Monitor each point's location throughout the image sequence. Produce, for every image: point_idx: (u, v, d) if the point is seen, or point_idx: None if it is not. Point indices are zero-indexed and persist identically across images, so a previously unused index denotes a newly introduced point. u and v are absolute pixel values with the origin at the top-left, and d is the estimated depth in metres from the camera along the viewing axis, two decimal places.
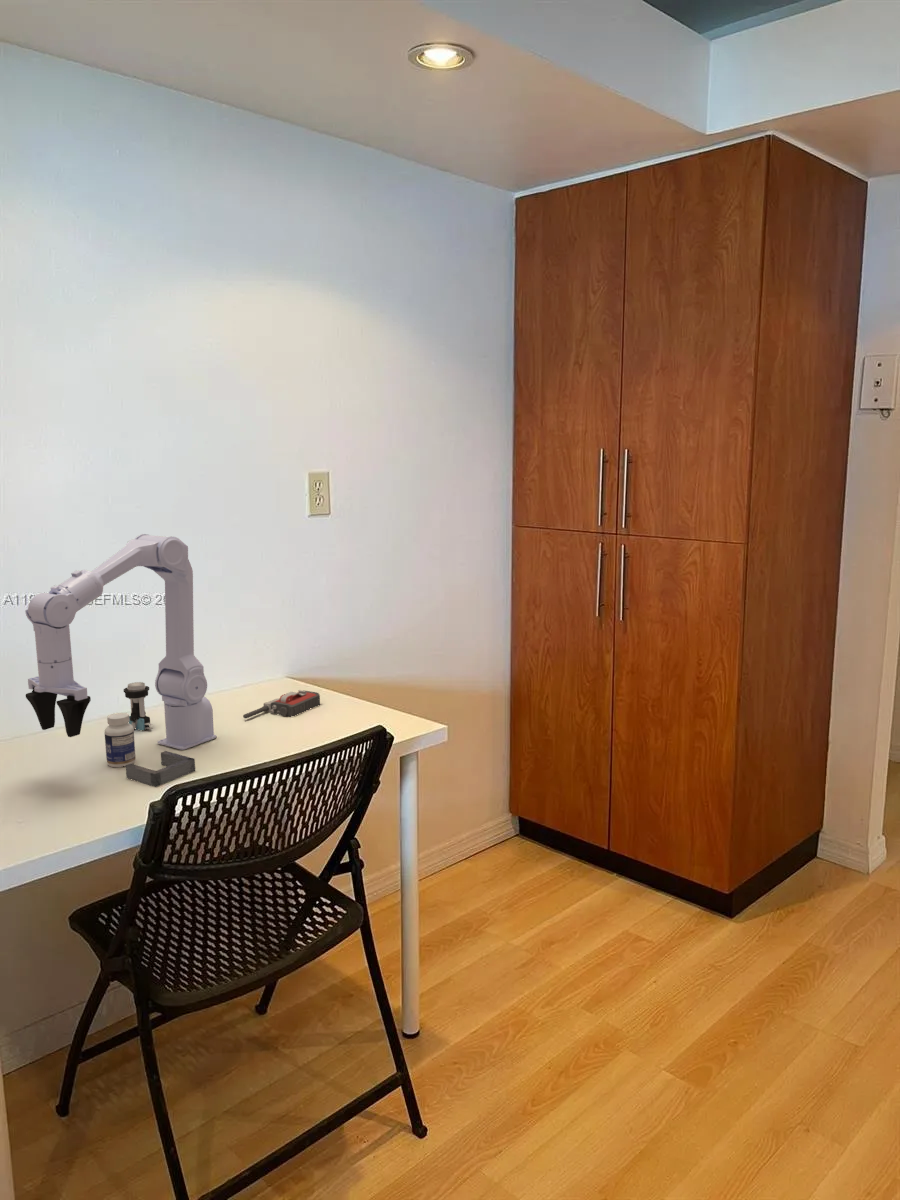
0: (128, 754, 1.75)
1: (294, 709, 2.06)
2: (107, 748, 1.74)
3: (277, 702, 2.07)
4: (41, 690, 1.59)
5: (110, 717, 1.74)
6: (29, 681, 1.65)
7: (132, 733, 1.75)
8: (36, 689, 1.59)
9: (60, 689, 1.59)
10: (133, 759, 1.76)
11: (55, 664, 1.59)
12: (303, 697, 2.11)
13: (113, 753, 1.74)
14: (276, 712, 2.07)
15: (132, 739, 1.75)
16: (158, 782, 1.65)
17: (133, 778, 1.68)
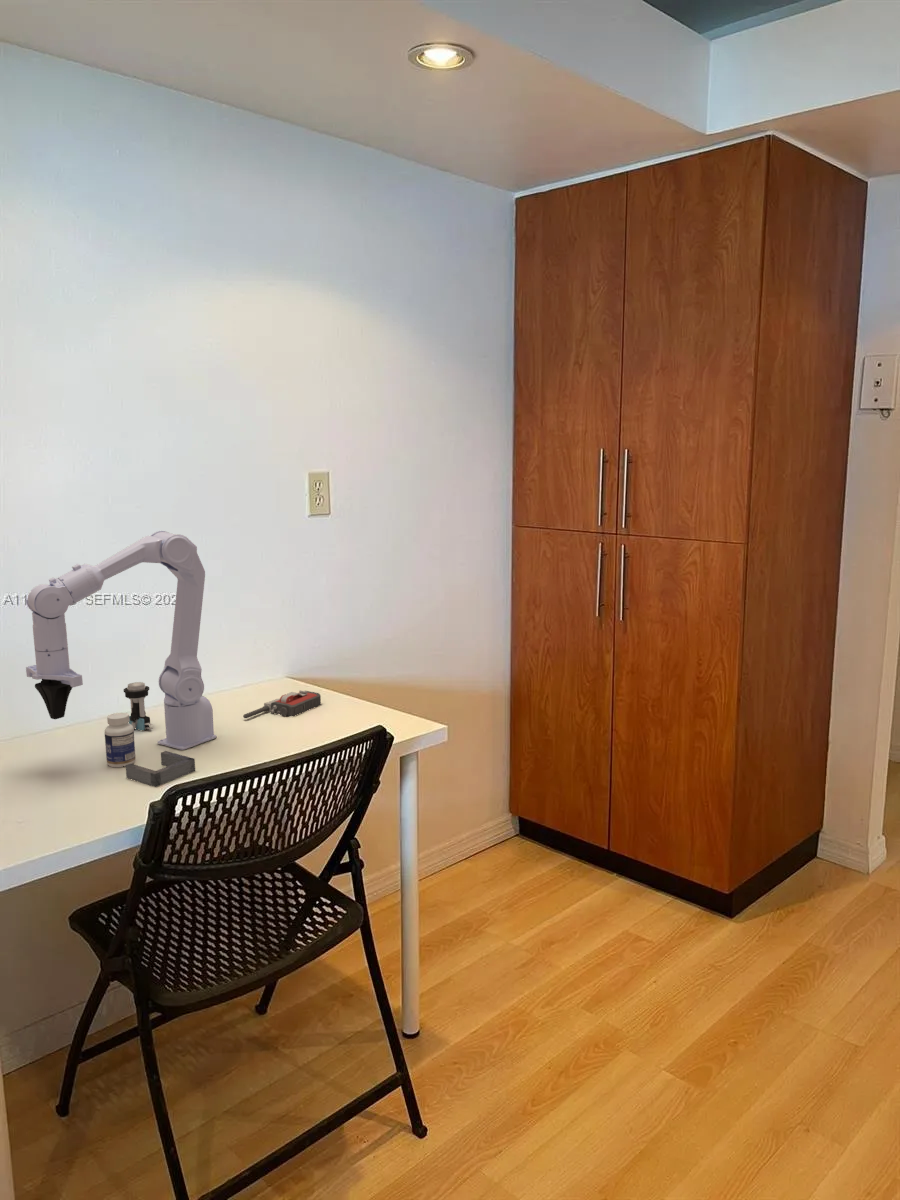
0: (128, 754, 1.75)
1: (294, 709, 2.06)
2: (107, 748, 1.74)
3: (277, 702, 2.07)
4: (38, 677, 1.67)
5: (110, 717, 1.74)
6: (27, 669, 1.73)
7: (132, 733, 1.75)
8: (33, 676, 1.67)
9: (56, 676, 1.67)
10: (133, 759, 1.76)
11: (52, 652, 1.67)
12: (304, 697, 2.11)
13: (113, 753, 1.74)
14: (276, 712, 2.08)
15: (132, 739, 1.75)
16: (158, 782, 1.65)
17: (133, 778, 1.68)
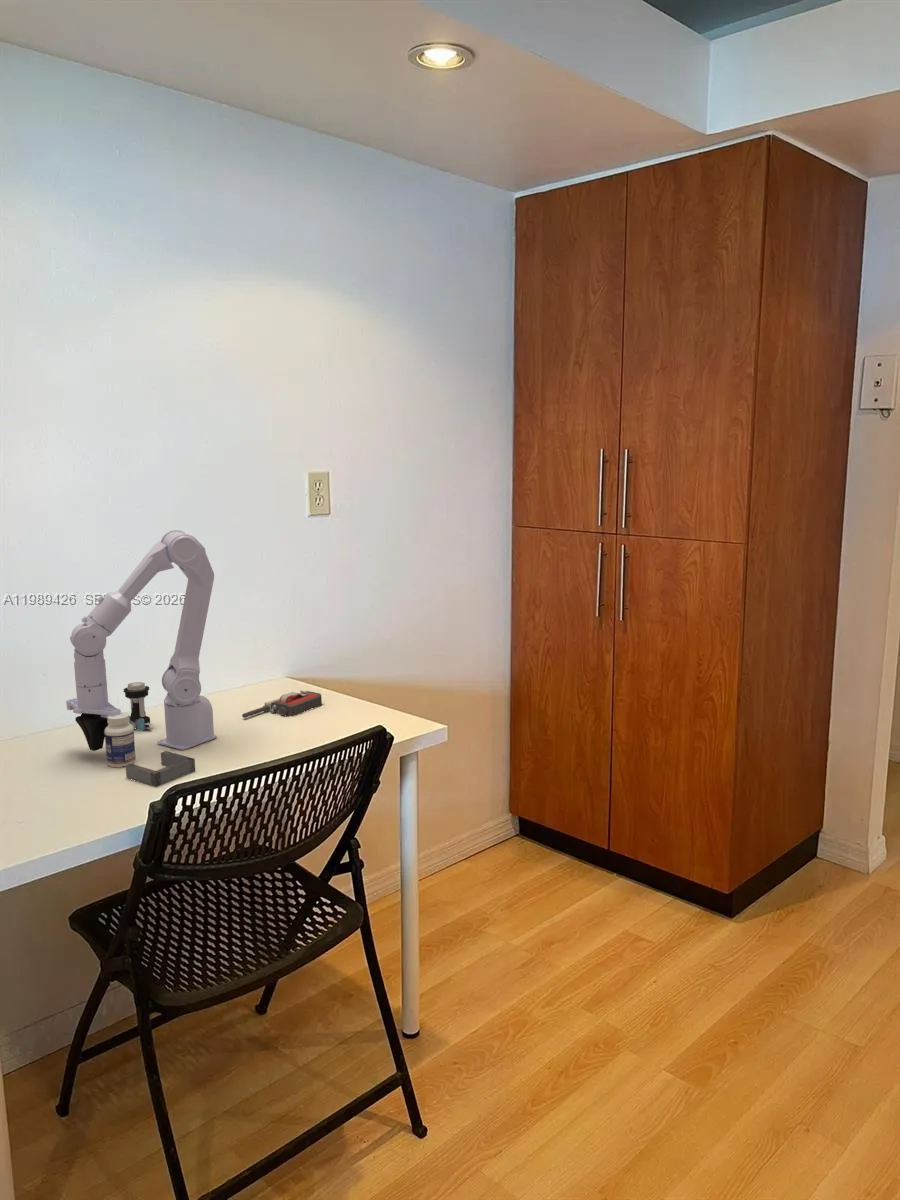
0: (128, 754, 1.75)
1: (293, 709, 2.06)
2: (107, 748, 1.74)
3: (277, 702, 2.08)
4: (79, 712, 1.75)
5: (110, 717, 1.74)
6: (68, 703, 1.82)
7: (132, 733, 1.75)
8: (75, 711, 1.76)
9: (96, 711, 1.75)
10: (133, 759, 1.76)
11: (92, 688, 1.76)
12: (304, 697, 2.11)
13: (113, 753, 1.74)
14: (276, 712, 2.08)
15: (132, 739, 1.75)
16: (158, 782, 1.65)
17: (133, 778, 1.68)
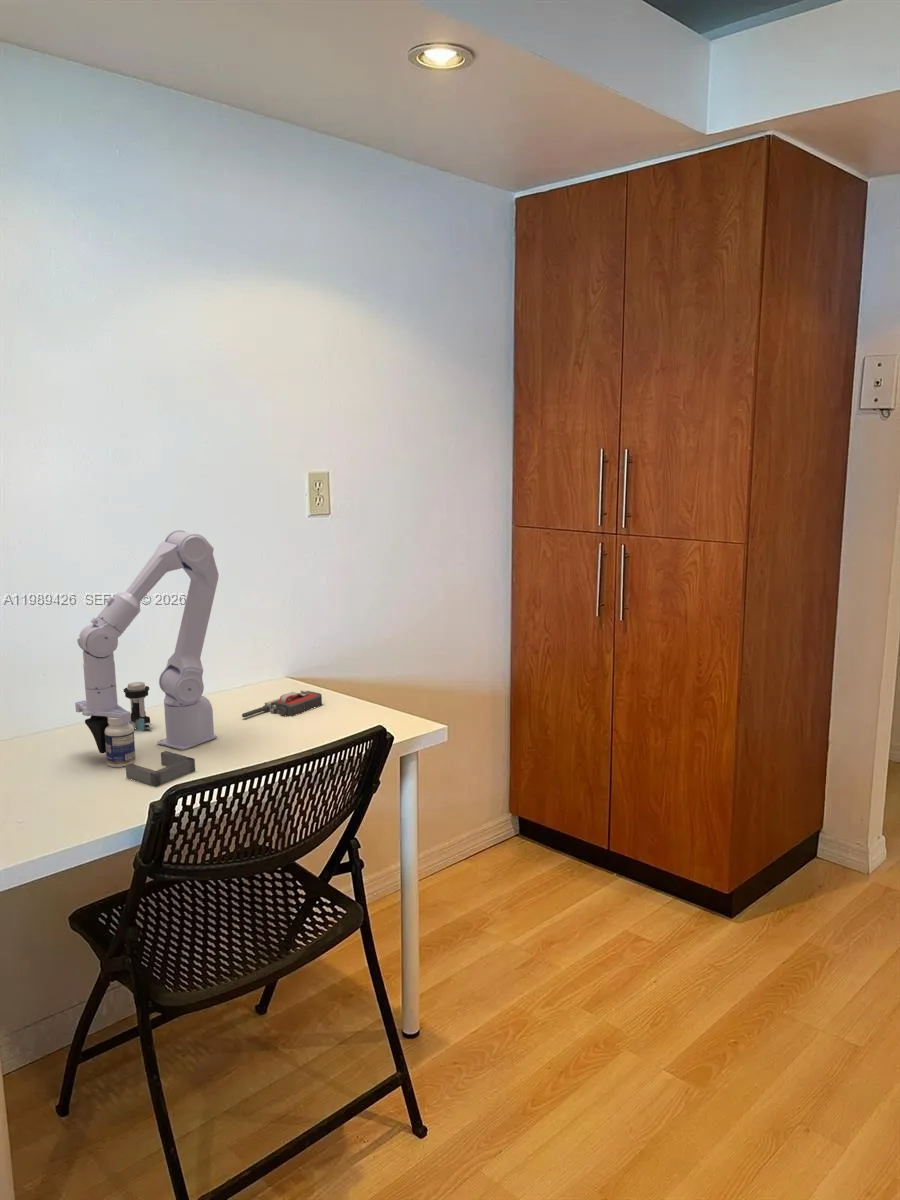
0: (128, 754, 1.75)
1: (293, 709, 2.06)
2: (107, 748, 1.74)
3: (277, 702, 2.08)
4: (89, 714, 1.74)
5: (110, 717, 1.74)
6: (77, 705, 1.80)
7: (132, 733, 1.75)
8: (84, 713, 1.74)
9: (106, 713, 1.74)
10: (133, 759, 1.76)
11: (101, 690, 1.74)
12: (304, 697, 2.11)
13: (113, 753, 1.74)
14: (276, 712, 2.08)
15: (132, 739, 1.75)
16: (158, 782, 1.65)
17: (133, 778, 1.68)
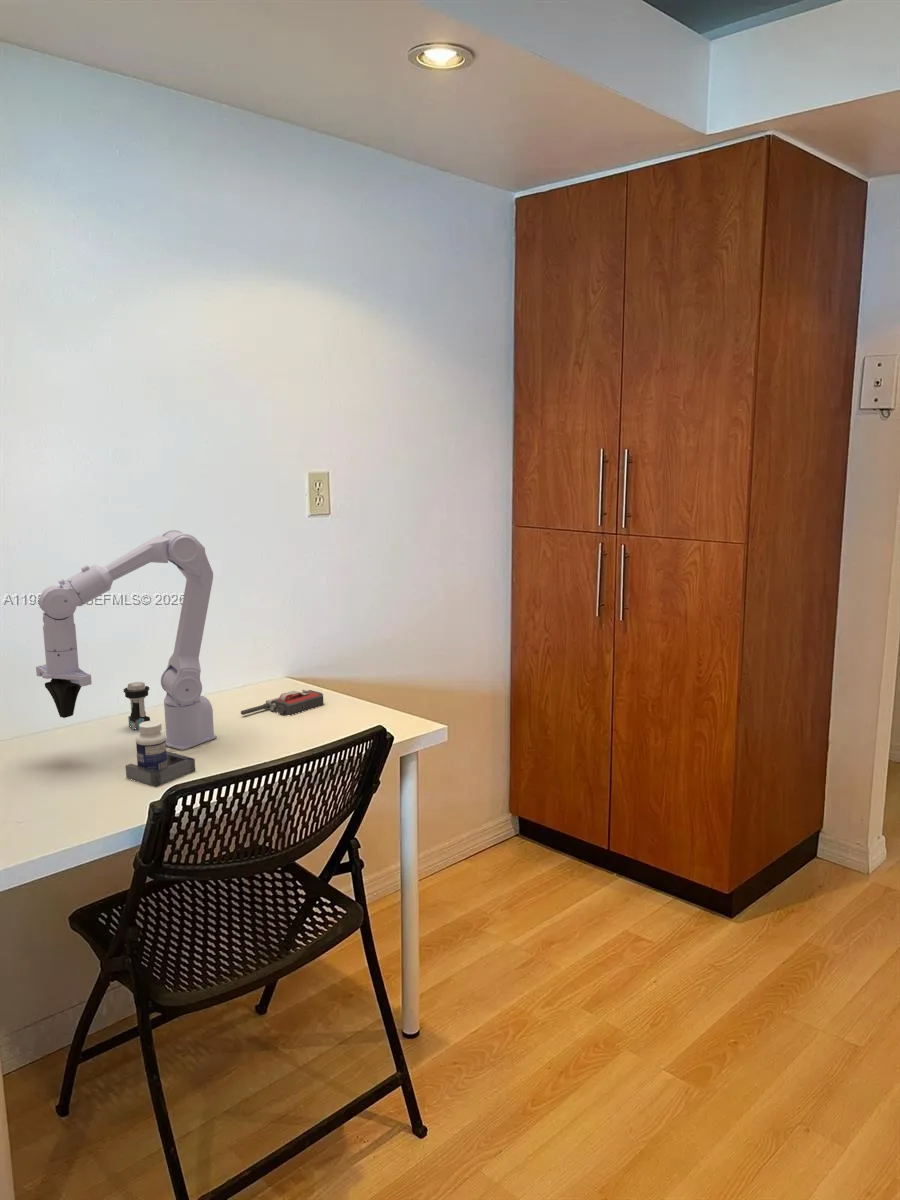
0: (161, 763, 1.70)
1: (291, 708, 2.07)
2: (139, 758, 1.69)
3: (277, 700, 2.09)
4: (48, 677, 1.70)
5: (142, 726, 1.69)
6: (37, 669, 1.77)
7: (165, 741, 1.70)
8: (44, 676, 1.71)
9: (66, 676, 1.70)
10: None
11: (61, 652, 1.71)
12: (304, 697, 2.12)
13: (146, 763, 1.68)
14: (276, 710, 2.09)
15: (165, 748, 1.71)
16: (158, 782, 1.65)
17: (133, 778, 1.68)
